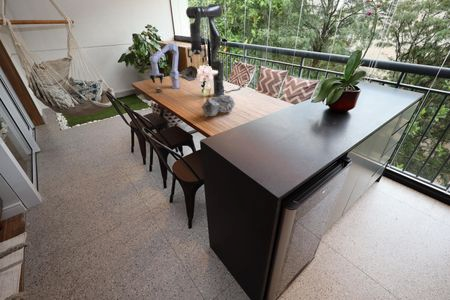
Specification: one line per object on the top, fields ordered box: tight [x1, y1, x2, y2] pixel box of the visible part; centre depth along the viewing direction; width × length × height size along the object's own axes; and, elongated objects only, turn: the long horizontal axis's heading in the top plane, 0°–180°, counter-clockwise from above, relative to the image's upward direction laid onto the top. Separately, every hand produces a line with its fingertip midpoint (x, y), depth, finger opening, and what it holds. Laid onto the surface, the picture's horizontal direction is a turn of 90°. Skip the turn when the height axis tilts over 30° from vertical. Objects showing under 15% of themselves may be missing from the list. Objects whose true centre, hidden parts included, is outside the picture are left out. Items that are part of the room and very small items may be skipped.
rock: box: [200, 95, 236, 118], centre depth 162 cm, size 17×17×28 cm
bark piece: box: [178, 65, 198, 81], centre depth 260 cm, size 19×8×30 cm
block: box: [155, 87, 163, 94], centre depth 213 cm, size 4×5×4 cm
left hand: (157, 83), depth 208 cm, fingers open, 7 cm apart
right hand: (197, 63), depth 159 cm, fingers open, 8 cm apart
